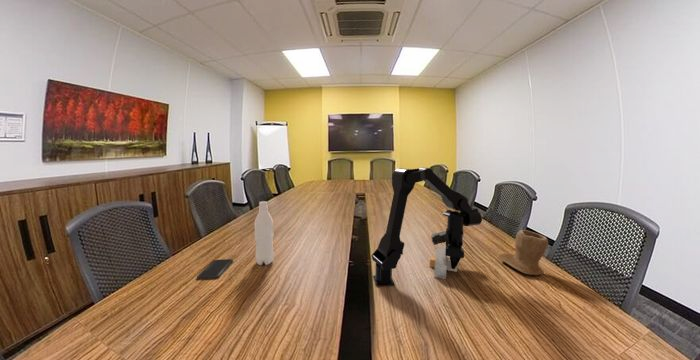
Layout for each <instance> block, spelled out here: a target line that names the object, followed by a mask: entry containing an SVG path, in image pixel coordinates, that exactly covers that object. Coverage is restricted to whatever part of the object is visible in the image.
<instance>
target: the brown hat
mask: <svg viewBox="0 0 700 360" xmlns="http://www.w3.org/2000/svg"><path fill="white" fill-rule="evenodd" d="M514 245H515V254H514V253H510V252H507V253H506V252H505V253H504V252H503V253H500V254H498V255H497V258H498V259H499V260H501V261H502V262H504V263H506V265H508V266H510V267H511V268H513V269H515V270H516V271H519V272H521V273H522V274H525V275H531V276H538V275H543V274H544V273H545V272H544V270H543V269H542V268H541V267H540V265H539V263H540V260H541V259H542V257H543V256H544V255H545V252H546V250H547V249H548V246H549V239H548V238H547V237H546V236H544V235H542V234H539V233H536V232H533V231H530V230H527V229H526V230H525V229H520V230H519V231H518V232H517V233H516V235H515V243H514Z"/></svg>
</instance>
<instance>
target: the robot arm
mask: <svg viewBox="0 0 700 360" xmlns="http://www.w3.org/2000/svg"><path fill="white" fill-rule="evenodd" d="M391 175H392V176H391V186H392V191H393V196H392V201H391V204H390V205H391V206H390V212H389V216H388V221H387V225H386V230H385V233H384V234H383V236H382V237H381V238H380V240H379V244H378V246H377V248H376V249H375V251H374V252H373V253H372V254H371V259H372V261H373V262H375V275H372V279H373V281H374V284H375V286H377V287H380V286H383V287H385V286H387V287H388V286H395V285H396V283H395V282H394V279H393V269H396V268H397V265H398V262H399V260H401V257H402V255H403V256H404V248H405V242H403V241H402V240H401V236H400V235H401V230H402V228H403V227H402V226H403V221H404V216H405V212H406V207H407V203H408V197H409V195H410V193H411V192H412V191H413V190H414V187H415V184H416V183H420V182H425V184H426V185H428V186H429V187H430V188H431V189H432V190H434V192H435V193H436V194H438V195H439V196H440V197H441V200H442V203H443V204H444V205H445V206H446V208H448V209H447V210H446V211H444V212H443V213H442V215H443V216H444V217H447V223H446V224H447V226H446V229H445V231H439V232H435V233H432V234H431V236H430V237H431V241H432V245H434V246H438V244H443V243H445V247H446V250H445V255H446V256H447V257H449V258H450V261H451V267H452V269H455V268H456V266H457V267H458V264H459V262H460V261H461V259H464V258H465V249H464V248H463V246H464V245H463V244H464V243H463V242H464V241H463V240H464V239H463V237H464V227H471V226H479V225H480V224H482V222H483V217H482V215H481V213H480V212H479V208H476V207H471V205H470V204H469V201H468V200H469V199H468V198H467V197H466V196H465V195H463V194H461V193H460V192H458V191H455V190H453V189H452V188H451V187H450V186H449V185H447V184H446V183H445V181H443V180H442V178H440V177H439V176H438V175H437V174H436V172H434V170H432V168H430V167H419V168H410V169H409V168H401V167H399V168H396V169H395V170H394V171H393V172H392V174H391ZM451 209H452V210H451Z"/></svg>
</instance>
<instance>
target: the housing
mask: <svg viewBox="0 0 700 360" xmlns="http://www.w3.org/2000/svg"><path fill="white" fill-rule="evenodd" d="M445 250H446V245H436V253H435V257H436V258H435V268H434V273H433V275H434V279H436V278H437V279H440V280H441V279H442V280H447V270H446V269H447V257H448V256H446V255H445Z"/></svg>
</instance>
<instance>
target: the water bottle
mask: <svg viewBox="0 0 700 360" xmlns="http://www.w3.org/2000/svg"><path fill="white" fill-rule="evenodd" d="M268 208H269V206H268V201H265V200H263V201H259V202H258V209H259V210H258V212H257V215H256V217H255V219H254V221H253V222H254V223H253V224H254V240H255V254H254V255H255V256H254V257H255V262H256V263H257V265H258V266H262V265H265V266H269V265H270V264H271V263H272V262H273V261H274V259H275V252H274V249H273V248H274V246H273V241H274V236H275V235H274V219H273V217H272V215H271V214H270V212H269V209H268Z"/></svg>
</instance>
